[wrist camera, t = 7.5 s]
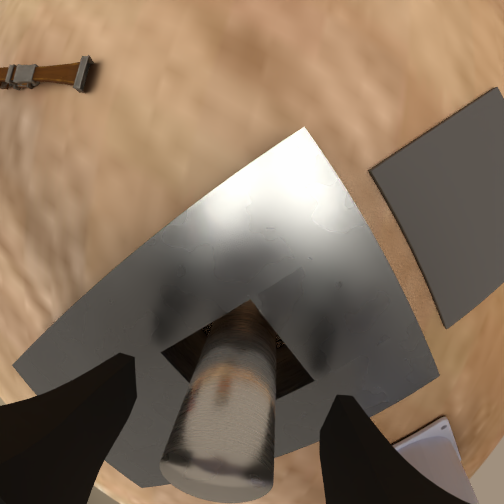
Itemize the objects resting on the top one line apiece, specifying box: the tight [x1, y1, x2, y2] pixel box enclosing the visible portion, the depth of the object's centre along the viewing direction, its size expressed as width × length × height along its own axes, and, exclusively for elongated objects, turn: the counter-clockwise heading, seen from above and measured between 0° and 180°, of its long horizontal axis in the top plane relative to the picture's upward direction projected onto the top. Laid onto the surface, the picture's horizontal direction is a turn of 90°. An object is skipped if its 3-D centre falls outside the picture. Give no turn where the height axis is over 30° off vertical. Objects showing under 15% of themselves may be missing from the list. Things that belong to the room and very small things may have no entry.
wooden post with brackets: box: [0, 55, 94, 94], centre depth 11 cm, size 2×8×4 cm, turn 78°
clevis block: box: [12, 127, 440, 488], centre depth 14 cm, size 12×20×4 cm, turn 125°
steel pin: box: [160, 299, 276, 503], centre depth 11 cm, size 3×3×10 cm
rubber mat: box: [369, 87, 504, 329], centre depth 13 cm, size 10×10×1 cm
